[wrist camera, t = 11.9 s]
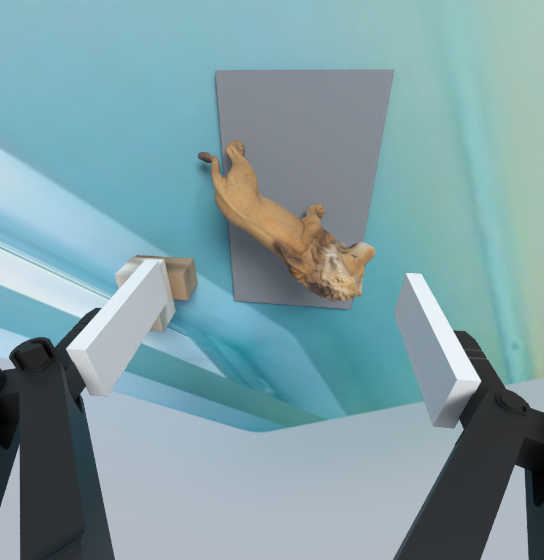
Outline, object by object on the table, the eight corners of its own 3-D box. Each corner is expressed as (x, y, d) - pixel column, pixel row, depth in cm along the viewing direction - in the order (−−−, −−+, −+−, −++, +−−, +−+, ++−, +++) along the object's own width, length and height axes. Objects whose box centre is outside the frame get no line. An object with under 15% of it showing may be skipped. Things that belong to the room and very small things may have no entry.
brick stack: (146, 291, 34) (117, 328, 29) (133, 241, 31) (97, 273, 26) (199, 294, 33) (179, 333, 28) (191, 245, 30) (166, 278, 25)
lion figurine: (372, 217, 26) (395, 274, 18) (335, 264, 29) (342, 330, 21) (212, 122, 23) (162, 143, 16) (189, 183, 26) (138, 227, 19)
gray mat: (235, 298, 33) (234, 300, 32) (217, 70, 22) (215, 70, 21) (350, 306, 32) (351, 309, 31) (392, 69, 21) (394, 69, 20)
